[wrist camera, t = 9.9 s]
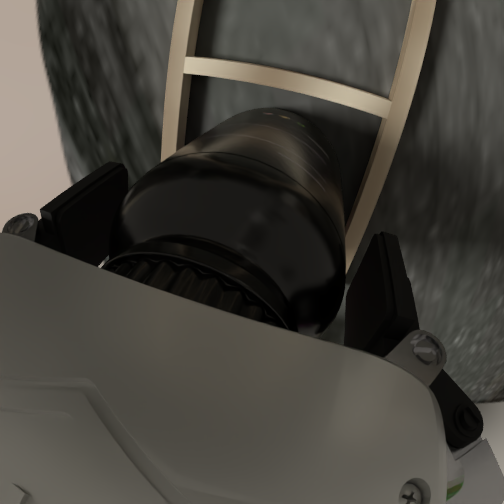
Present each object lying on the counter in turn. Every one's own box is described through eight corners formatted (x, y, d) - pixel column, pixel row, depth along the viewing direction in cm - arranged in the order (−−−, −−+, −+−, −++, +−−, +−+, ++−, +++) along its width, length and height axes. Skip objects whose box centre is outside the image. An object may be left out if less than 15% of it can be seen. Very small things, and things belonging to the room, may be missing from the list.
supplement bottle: (314, 248, 17) (271, 475, 7) (197, 208, 17) (65, 390, 8) (363, 132, 13) (424, 364, 3) (220, 88, 13) (-13, 201, 4)
